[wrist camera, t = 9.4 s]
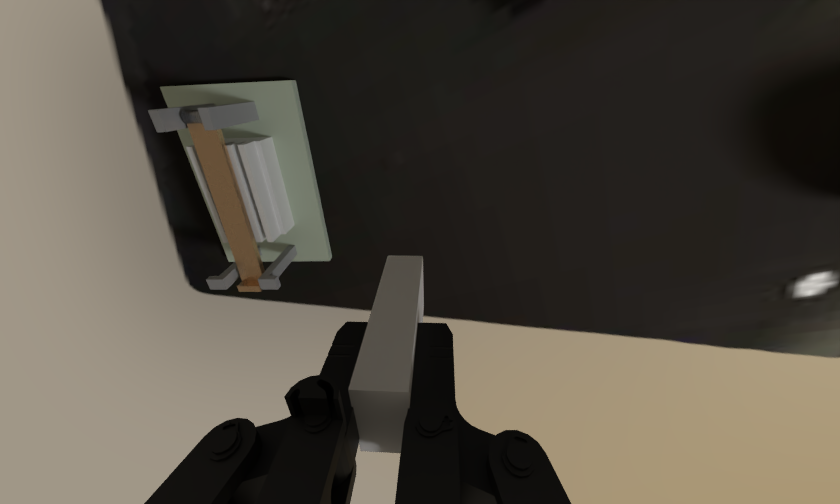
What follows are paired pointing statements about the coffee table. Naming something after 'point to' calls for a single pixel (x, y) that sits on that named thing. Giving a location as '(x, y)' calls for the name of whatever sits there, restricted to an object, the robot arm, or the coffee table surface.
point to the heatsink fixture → (257, 168)
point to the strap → (227, 199)
